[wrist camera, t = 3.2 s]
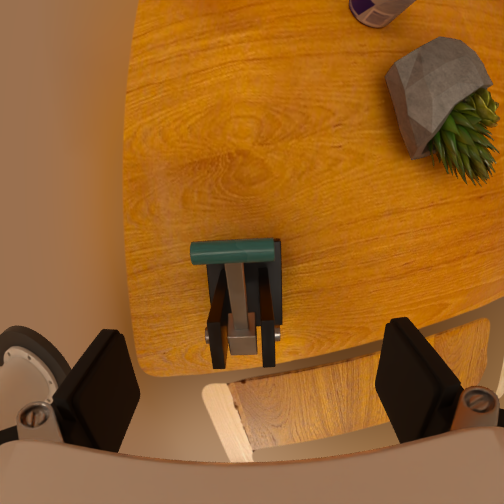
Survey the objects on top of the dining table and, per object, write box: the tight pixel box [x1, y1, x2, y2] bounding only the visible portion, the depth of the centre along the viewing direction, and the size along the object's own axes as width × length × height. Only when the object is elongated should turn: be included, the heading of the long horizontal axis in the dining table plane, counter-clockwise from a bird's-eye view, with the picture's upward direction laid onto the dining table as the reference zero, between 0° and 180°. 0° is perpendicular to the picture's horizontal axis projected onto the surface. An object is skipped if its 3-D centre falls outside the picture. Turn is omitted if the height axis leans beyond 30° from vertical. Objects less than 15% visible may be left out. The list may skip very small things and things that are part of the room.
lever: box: [190, 238, 275, 355], centre depth 23 cm, size 11×5×2 cm, turn 3°
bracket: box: [205, 239, 282, 369], centre depth 30 cm, size 10×8×13 cm
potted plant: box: [385, 37, 500, 187], centre depth 25 cm, size 12×13×15 cm
